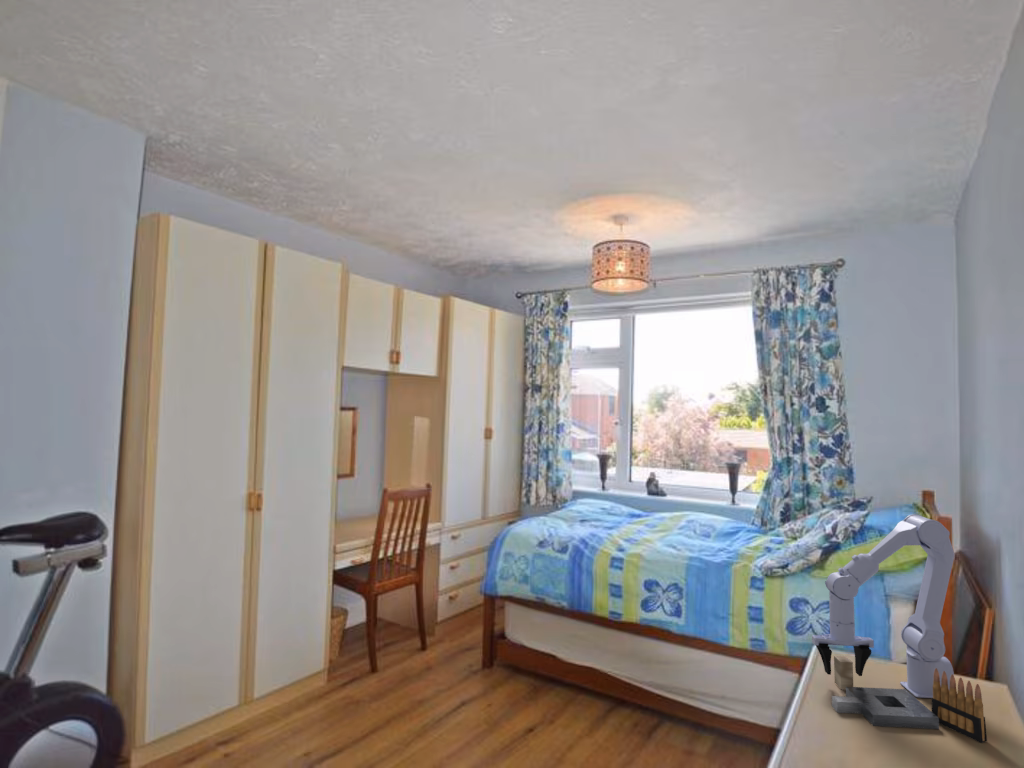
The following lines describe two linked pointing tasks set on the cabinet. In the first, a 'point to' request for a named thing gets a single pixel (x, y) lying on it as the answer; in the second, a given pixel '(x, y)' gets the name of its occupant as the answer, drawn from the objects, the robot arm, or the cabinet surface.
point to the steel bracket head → (896, 713)
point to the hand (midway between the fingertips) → (843, 673)
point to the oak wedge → (843, 672)
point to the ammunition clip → (959, 707)
